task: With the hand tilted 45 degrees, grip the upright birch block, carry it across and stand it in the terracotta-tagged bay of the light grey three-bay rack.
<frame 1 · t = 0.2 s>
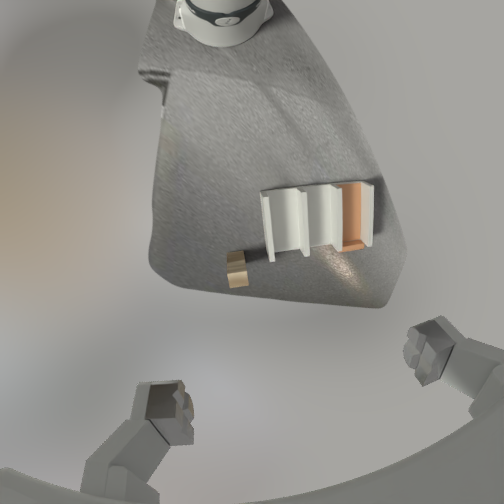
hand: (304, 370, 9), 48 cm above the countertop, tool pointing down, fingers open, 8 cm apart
rack: (315, 215, 57), on the countertop
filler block: (236, 258, 60), on the countertop
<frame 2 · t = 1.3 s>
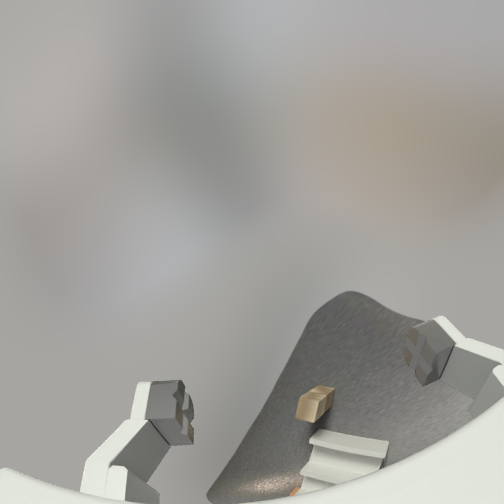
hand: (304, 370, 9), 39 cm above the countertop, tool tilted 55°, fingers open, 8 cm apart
rack: (338, 482, 36), on the countertop
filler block: (324, 396, 43), on the countertop
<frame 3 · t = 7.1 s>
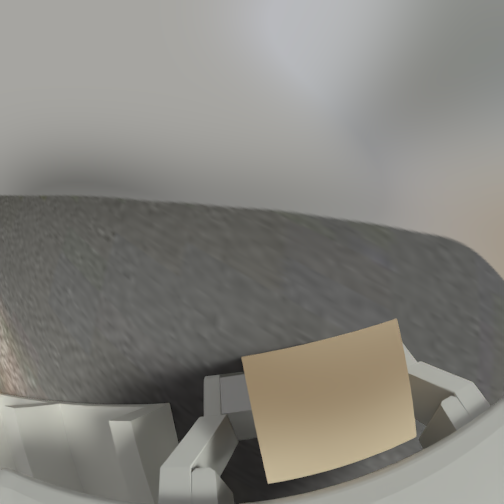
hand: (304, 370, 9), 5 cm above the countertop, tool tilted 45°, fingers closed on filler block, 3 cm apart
rack: (51, 480, 10), on the countertop
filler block: (290, 376, 13), on the countertop, touching gripper
when the fingers open (8 cm above the countertop, at t = 13.0 s): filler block drops 1 cm, resting on rack.
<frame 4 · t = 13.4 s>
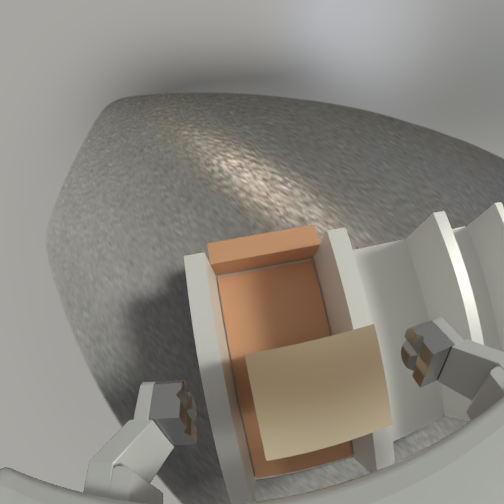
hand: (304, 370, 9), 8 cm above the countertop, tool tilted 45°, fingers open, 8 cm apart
rack: (388, 344, 16), on the countertop
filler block: (287, 373, 15), point 1 cm above the countertop, touching rack
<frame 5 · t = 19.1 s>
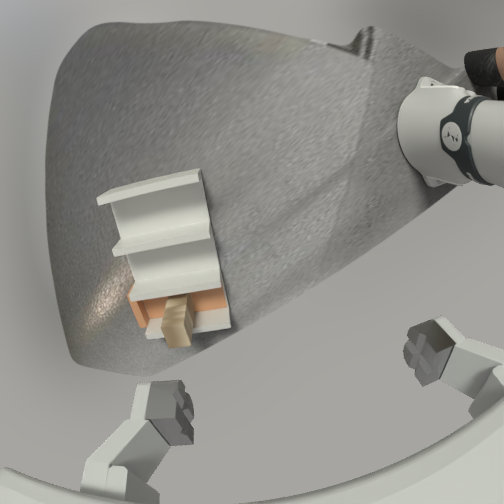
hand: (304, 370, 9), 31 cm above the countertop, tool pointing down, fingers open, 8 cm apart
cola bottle: (503, 96, 33), on the countertop
rack: (171, 253, 40), on the countertop
travel mug: (474, 68, 31), on the countertop
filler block: (182, 298, 41), point 1 cm above the countertop, touching rack
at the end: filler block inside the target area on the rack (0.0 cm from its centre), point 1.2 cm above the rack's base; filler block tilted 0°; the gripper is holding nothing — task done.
